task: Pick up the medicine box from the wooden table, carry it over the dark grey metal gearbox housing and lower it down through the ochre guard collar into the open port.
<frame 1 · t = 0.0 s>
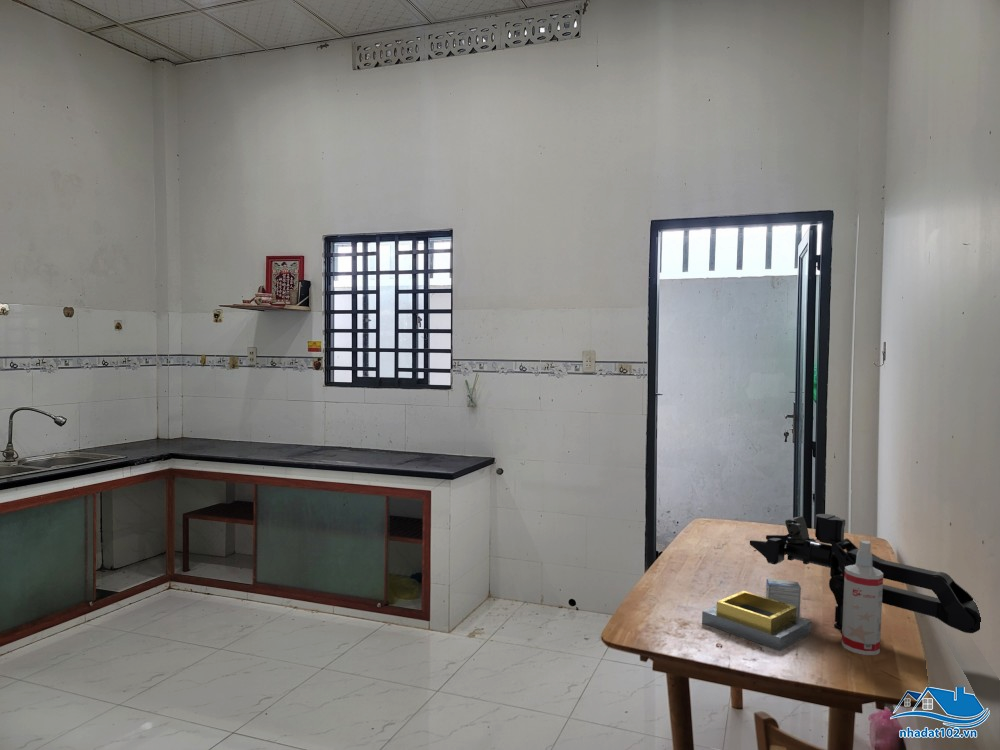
hand: (758, 539, 185), 17 cm above the table, tool horizontal, fingers open, 9 cm apart
medicine box: (782, 616, 174), on the table
gearbox housing: (755, 628, 164), on the table
white squeeze bottle: (860, 648, 154), on the table
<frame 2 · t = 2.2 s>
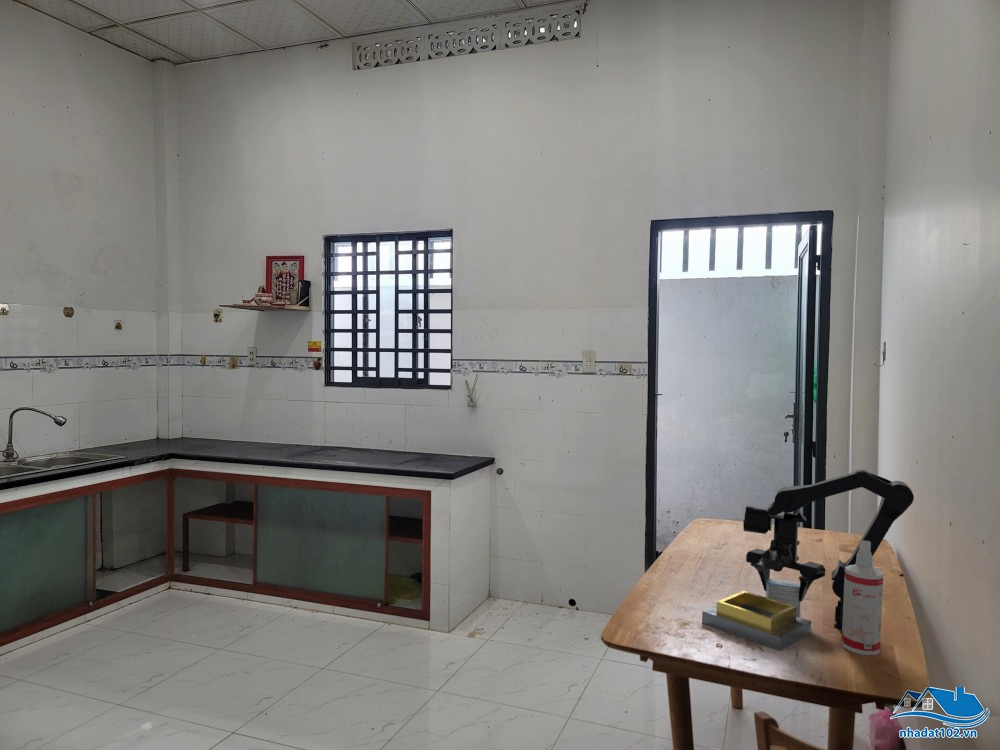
hand: (783, 596, 173), 5 cm above the table, tool pointing down, fingers open, 9 cm apart
medicine box: (782, 616, 174), on the table, touching gripper
everything else where it was.
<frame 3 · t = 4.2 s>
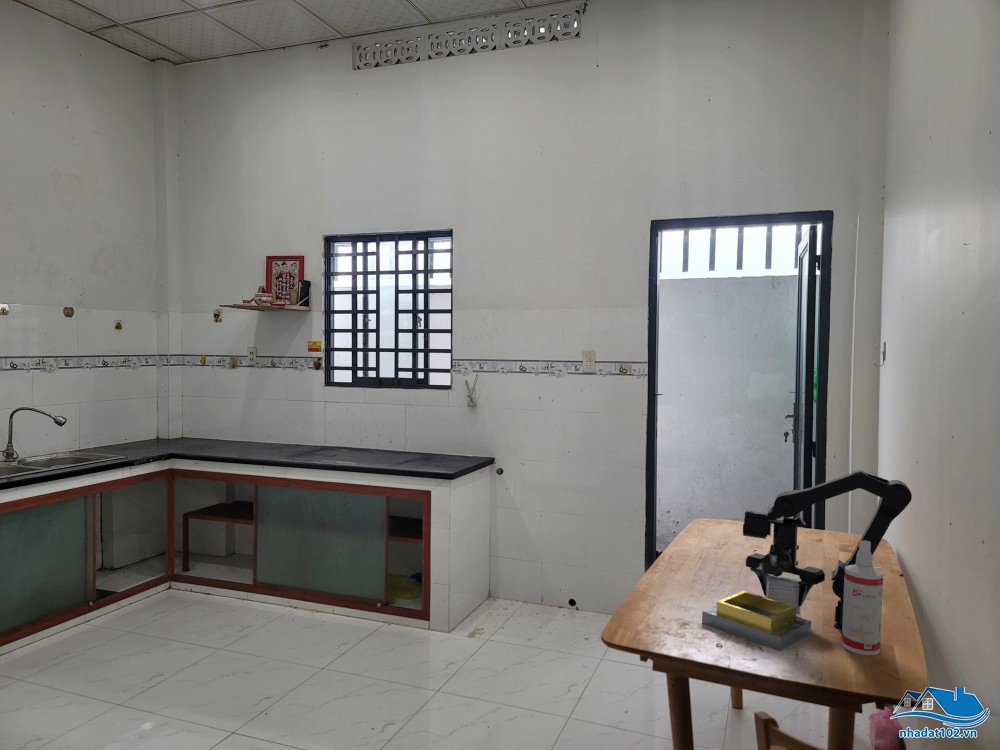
hand: (782, 600, 173), 4 cm above the table, tool pointing down, fingers closed on medicine box, 9 cm apart
medicine box: (782, 611, 173), point 1 cm above the table, touching gripper
everything else where it was.
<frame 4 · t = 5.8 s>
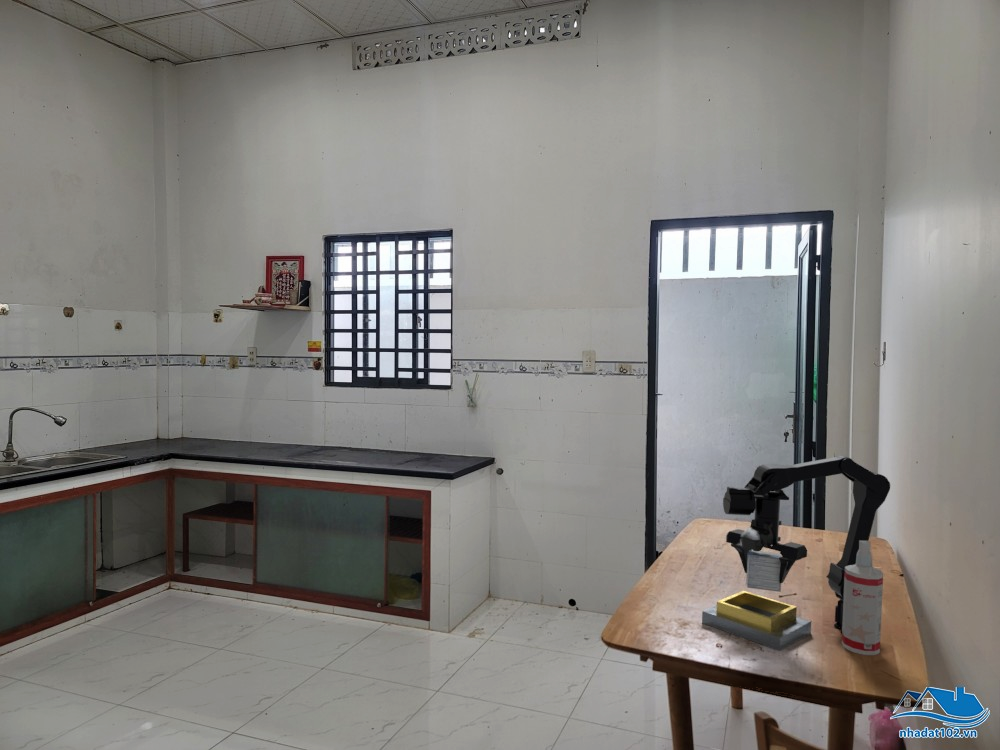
hand: (763, 577, 167), 12 cm above the table, tool pointing down, fingers closed on medicine box, 9 cm apart
medicine box: (763, 588, 167), point 9 cm above the table, touching gripper
everything else where it was.
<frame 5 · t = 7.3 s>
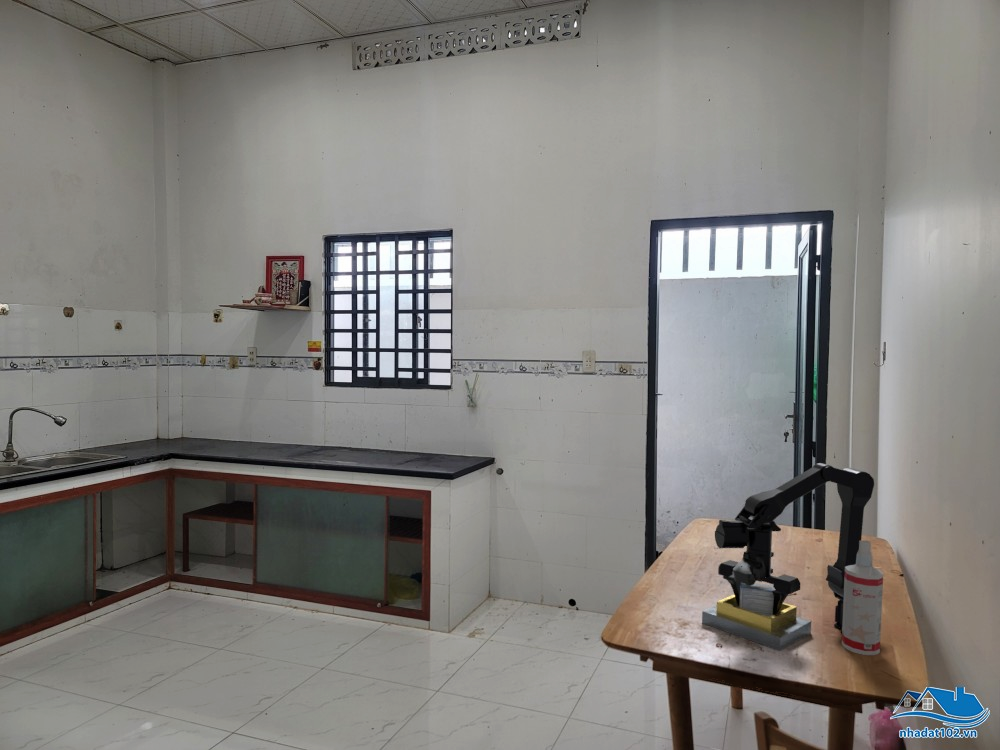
hand: (756, 610, 164), 4 cm above the table, tool pointing down, fingers closed on medicine box, 9 cm apart
medicine box: (756, 621, 164), point 2 cm above the table, touching gripper
everything else where it was.
when the fingers open (4 cm above the table, at t = 8.5 s): medicine box drops 1 cm, resting in gearbox housing.
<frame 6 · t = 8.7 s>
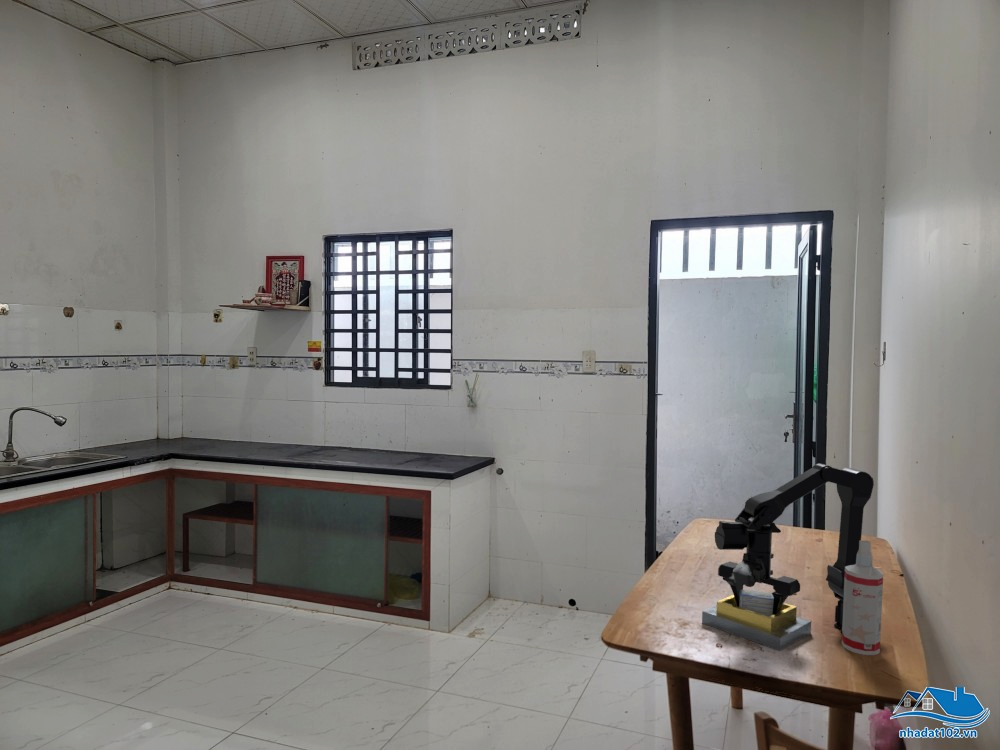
hand: (756, 612, 164), 4 cm above the table, tool pointing down, fingers open, 9 cm apart
medicine box: (755, 629, 164), resting in gearbox housing, touching gripper
everything else where it was.
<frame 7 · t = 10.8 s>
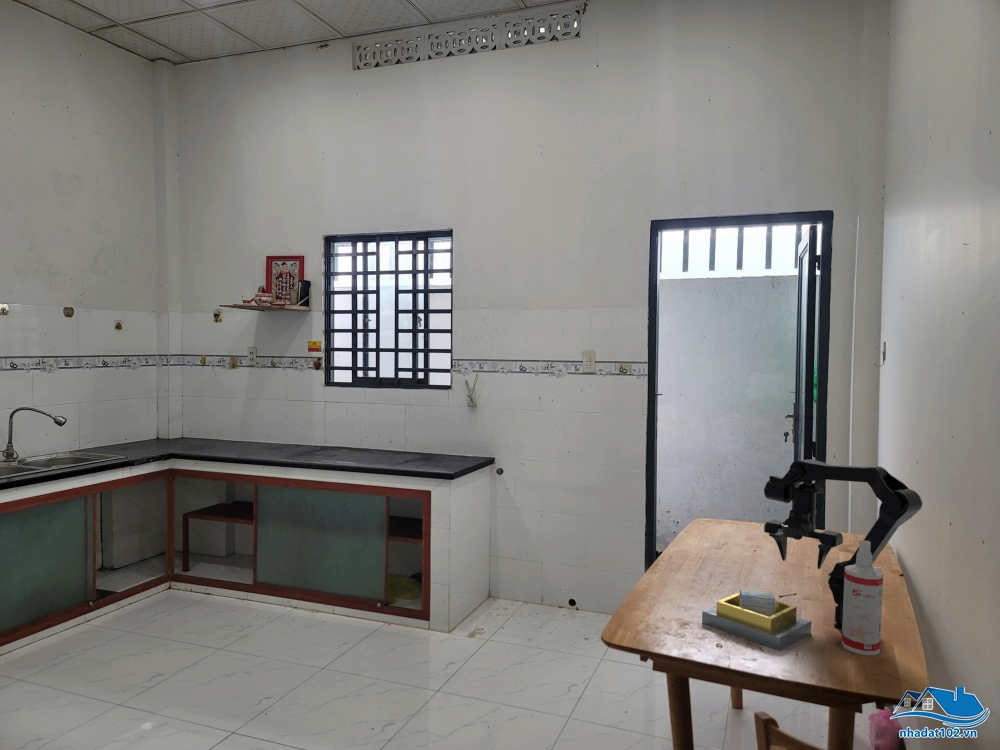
hand: (801, 564, 178), 12 cm above the table, tool pointing down, fingers open, 9 cm apart
medicine box: (755, 629, 164), resting in gearbox housing
everything else where it was.
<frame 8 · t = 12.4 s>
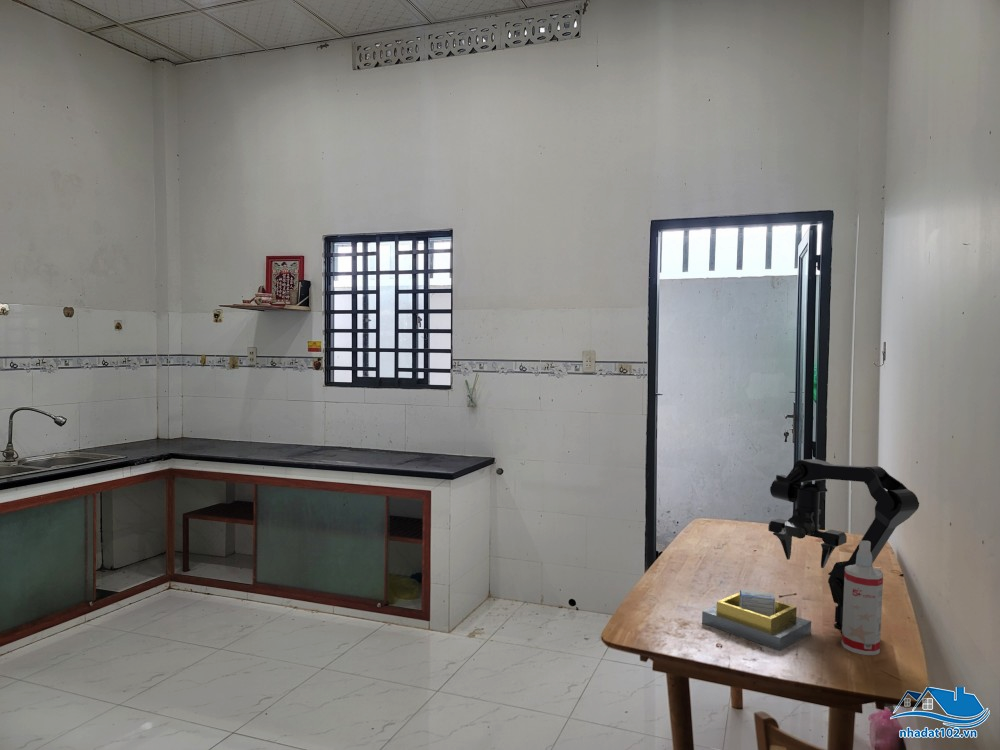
hand: (805, 563, 179), 12 cm above the table, tool pointing down, fingers open, 9 cm apart
nothing on the table moved.
at the end: medicine box inside the target area on the gearbox housing (0.1 cm from its centre), point 0.0 cm above the gearbox housing's base; medicine box tilted 0°; the gripper is holding nothing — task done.
